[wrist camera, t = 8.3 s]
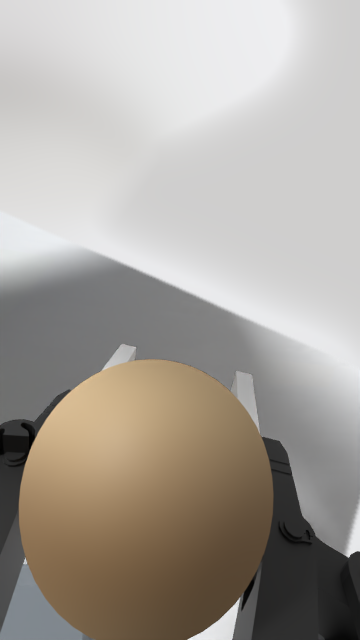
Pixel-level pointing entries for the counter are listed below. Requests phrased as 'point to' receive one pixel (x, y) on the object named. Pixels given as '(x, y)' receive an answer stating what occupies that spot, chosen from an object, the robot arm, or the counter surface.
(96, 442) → the oak peg
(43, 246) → the counter surface
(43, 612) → the slate socket block
